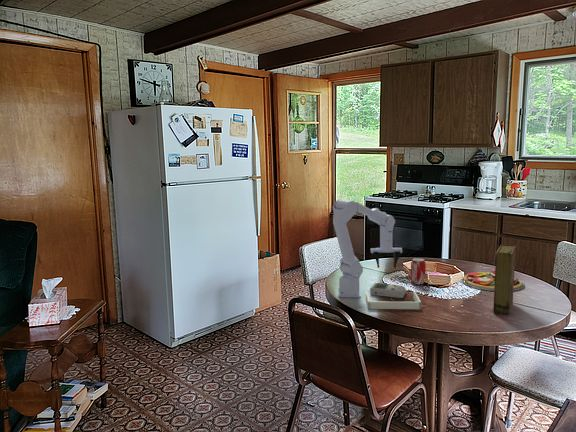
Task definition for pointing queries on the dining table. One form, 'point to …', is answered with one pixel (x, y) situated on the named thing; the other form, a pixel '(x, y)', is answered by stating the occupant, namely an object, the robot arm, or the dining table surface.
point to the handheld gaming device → (388, 290)
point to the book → (504, 279)
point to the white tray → (393, 303)
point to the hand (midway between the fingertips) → (386, 267)
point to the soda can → (418, 270)
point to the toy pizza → (487, 281)
